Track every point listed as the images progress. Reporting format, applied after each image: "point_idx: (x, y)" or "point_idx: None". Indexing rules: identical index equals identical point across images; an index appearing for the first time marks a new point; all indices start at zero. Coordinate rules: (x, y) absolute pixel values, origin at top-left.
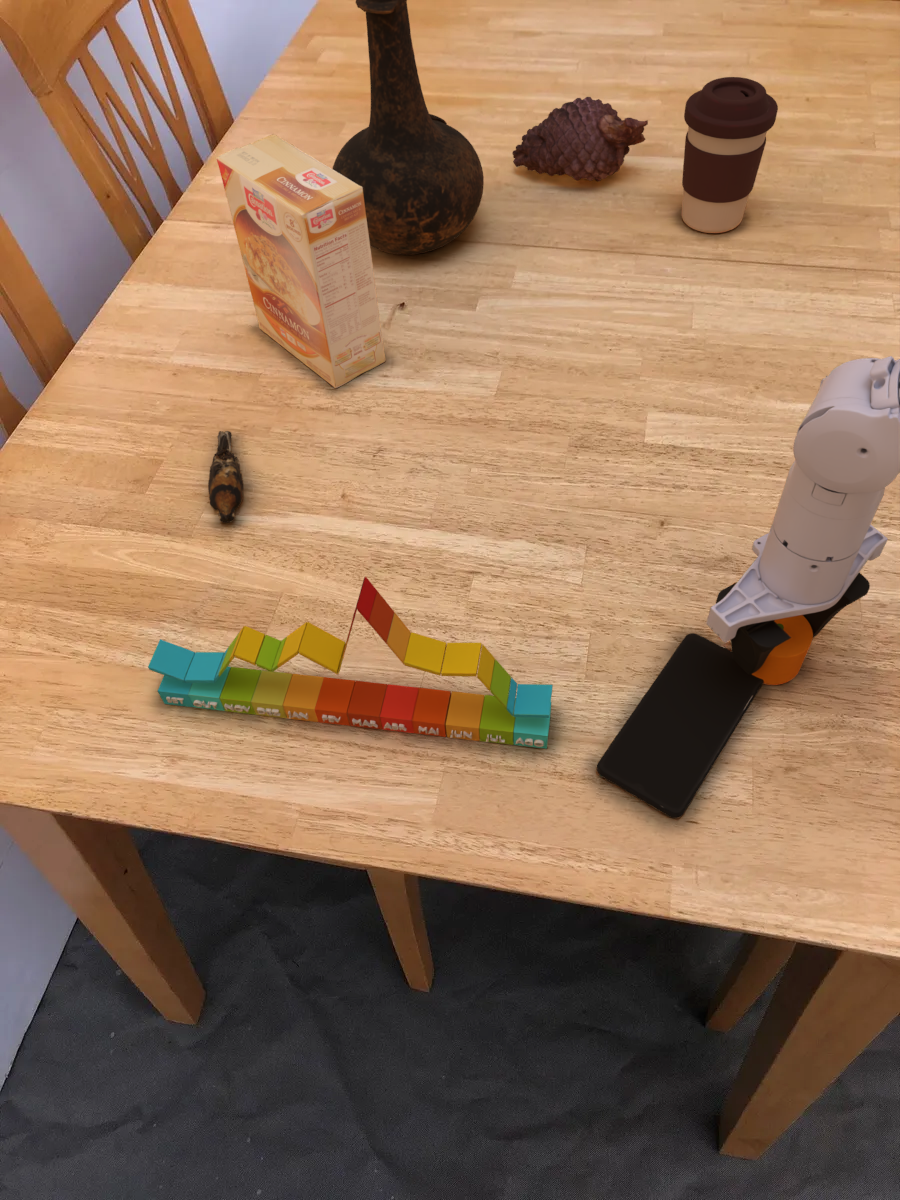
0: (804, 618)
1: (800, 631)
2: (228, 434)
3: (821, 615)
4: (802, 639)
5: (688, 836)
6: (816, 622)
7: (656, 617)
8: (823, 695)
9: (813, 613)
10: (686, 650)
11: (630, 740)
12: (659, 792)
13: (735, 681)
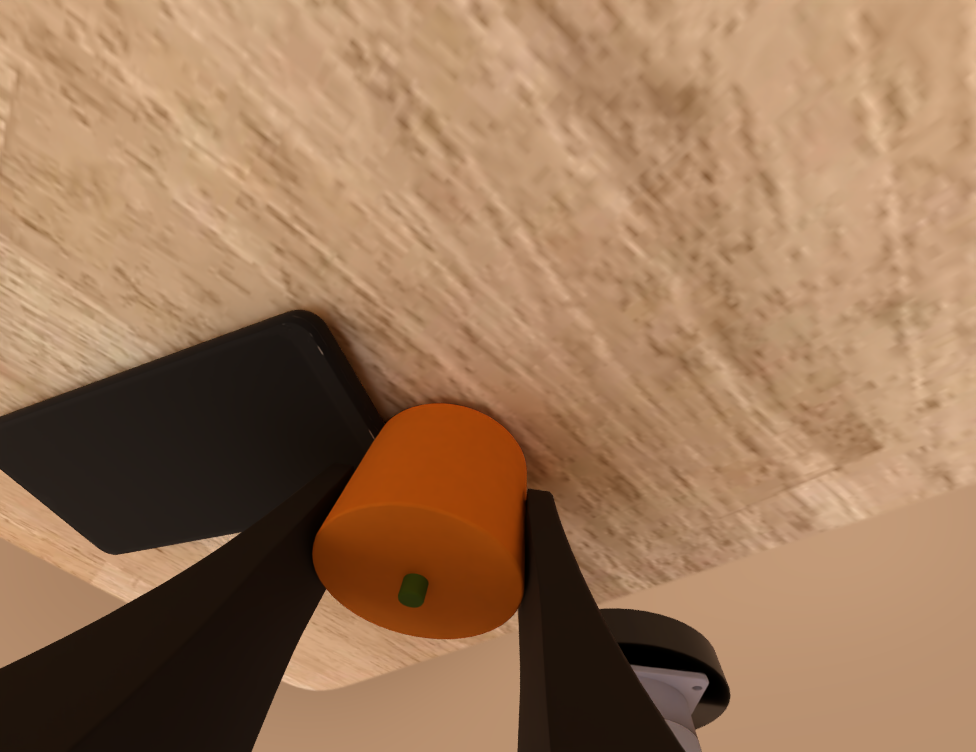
0: (516, 602)
1: (468, 612)
2: None
3: (522, 694)
4: (450, 625)
5: (141, 554)
6: (521, 640)
7: (269, 172)
8: None
9: (525, 654)
10: (258, 355)
11: (43, 439)
12: (84, 523)
13: None
